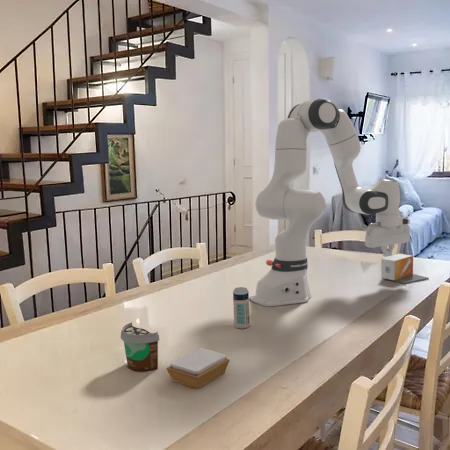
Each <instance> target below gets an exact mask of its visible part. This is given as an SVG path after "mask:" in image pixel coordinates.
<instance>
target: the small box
mask: <svg viewBox="0 0 450 450" xmlns="http://www.w3.org/2000/svg"><path fill="white" fill-rule="evenodd" d="M380 260H381V266H380V270H381V271H380V273H381V274H380V275H381V276H380V278H382V279H384V278H385V280H388V279H390V280H389V281H391V280H398V279H401V278H404V277H407V276H410V275H413V274H414V255H410V254H404V253H397V254H394V255H393V254H392V256H387V257H382V258H381V259H380Z"/></svg>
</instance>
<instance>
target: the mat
mask: <svg viewBox="0 0 450 450" xmlns="http://www.w3.org/2000/svg"><path fill="white" fill-rule="evenodd" d="M383 279H385V278H383ZM426 279H427V280H429V279H430V278H429V277H428V276H423V275H418V274H415V273H413V275H410V276H407V277H404V278H401V279H398V280H390V279H387V280H389V281H392V282H395V283H398V284H403V285H407V284H412V282H413V283H417V282H416V281H418V282H421V280H422V281H427V280H426ZM385 280H386V279H385Z"/></svg>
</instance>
